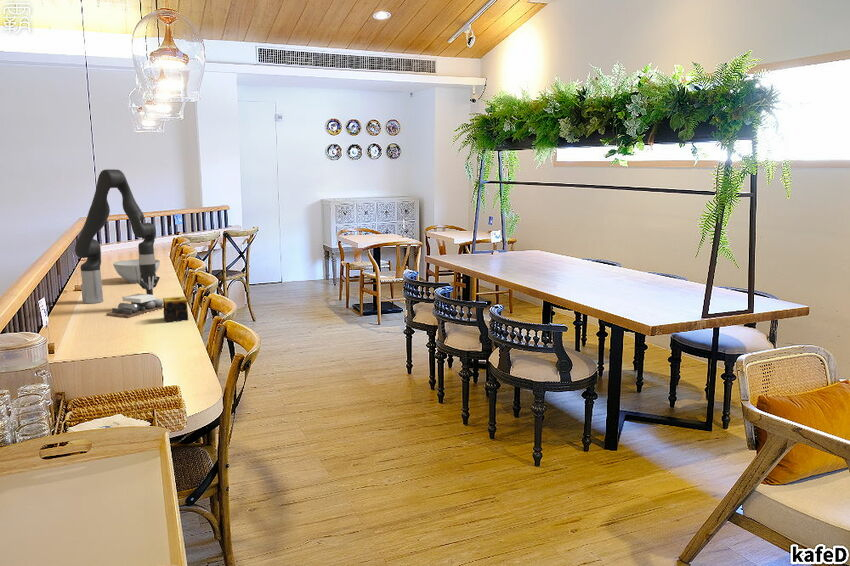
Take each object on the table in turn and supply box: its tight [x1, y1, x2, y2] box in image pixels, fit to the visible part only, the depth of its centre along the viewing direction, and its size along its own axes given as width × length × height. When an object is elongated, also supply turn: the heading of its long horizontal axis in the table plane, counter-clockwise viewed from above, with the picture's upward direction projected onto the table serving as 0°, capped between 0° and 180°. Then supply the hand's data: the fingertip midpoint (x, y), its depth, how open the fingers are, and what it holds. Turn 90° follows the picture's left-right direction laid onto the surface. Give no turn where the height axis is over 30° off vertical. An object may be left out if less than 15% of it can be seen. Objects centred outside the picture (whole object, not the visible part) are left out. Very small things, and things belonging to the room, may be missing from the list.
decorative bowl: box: [112, 258, 161, 284], centre depth 407 cm, size 27×27×12 cm
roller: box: [117, 302, 140, 313], centre depth 318 cm, size 10×4×4 cm, turn 67°
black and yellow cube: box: [162, 296, 189, 323], centre depth 306 cm, size 10×10×10 cm
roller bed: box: [106, 298, 164, 319], centre depth 323 cm, size 14×24×5 cm, turn 156°
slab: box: [122, 293, 158, 303], centre depth 324 cm, size 12×10×2 cm
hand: (149, 296), depth 330 cm, fingers closed
